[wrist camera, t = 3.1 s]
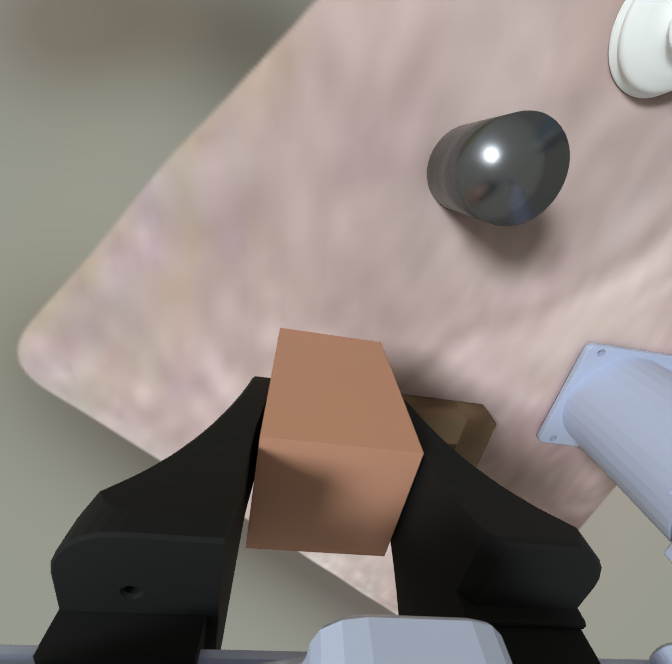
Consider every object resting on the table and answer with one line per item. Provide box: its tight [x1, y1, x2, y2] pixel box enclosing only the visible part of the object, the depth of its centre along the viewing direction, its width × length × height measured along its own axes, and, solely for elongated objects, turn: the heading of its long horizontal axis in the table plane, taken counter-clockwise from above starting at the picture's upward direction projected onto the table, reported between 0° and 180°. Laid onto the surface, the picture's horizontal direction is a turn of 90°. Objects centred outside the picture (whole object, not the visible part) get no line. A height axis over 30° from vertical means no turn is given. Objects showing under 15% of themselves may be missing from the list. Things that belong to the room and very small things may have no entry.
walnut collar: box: [401, 394, 496, 467], centre depth 25 cm, size 10×10×2 cm
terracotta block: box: [246, 328, 424, 556], centre depth 12 cm, size 4×4×6 cm
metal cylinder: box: [427, 111, 570, 226], centre depth 16 cm, size 4×4×5 cm
